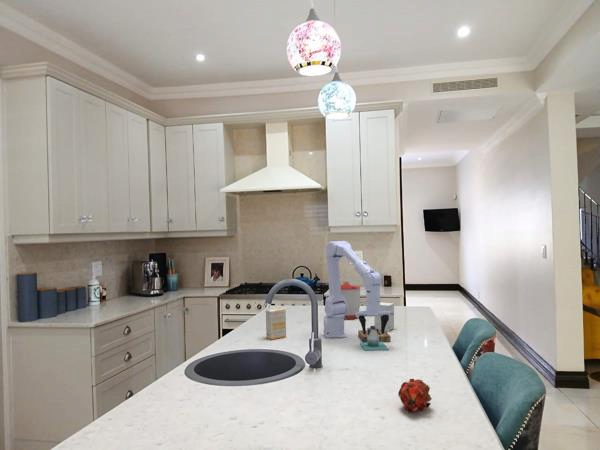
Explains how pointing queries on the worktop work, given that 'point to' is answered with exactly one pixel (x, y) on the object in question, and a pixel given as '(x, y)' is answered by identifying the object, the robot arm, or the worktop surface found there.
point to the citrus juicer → (351, 299)
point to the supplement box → (275, 323)
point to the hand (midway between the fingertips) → (373, 333)
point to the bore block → (382, 337)
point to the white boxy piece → (391, 318)
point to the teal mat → (368, 348)
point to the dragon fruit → (415, 395)
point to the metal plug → (373, 336)
